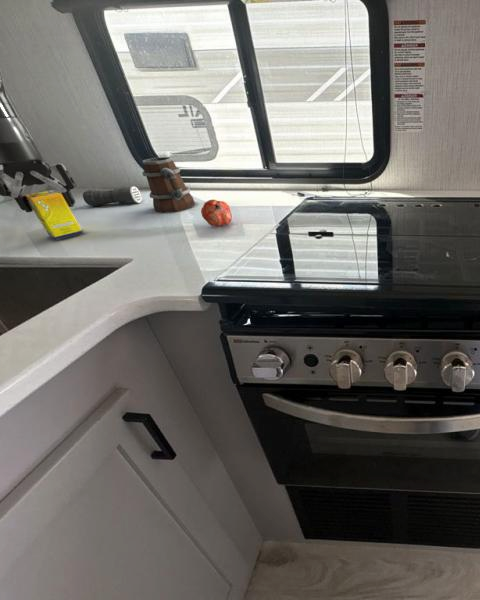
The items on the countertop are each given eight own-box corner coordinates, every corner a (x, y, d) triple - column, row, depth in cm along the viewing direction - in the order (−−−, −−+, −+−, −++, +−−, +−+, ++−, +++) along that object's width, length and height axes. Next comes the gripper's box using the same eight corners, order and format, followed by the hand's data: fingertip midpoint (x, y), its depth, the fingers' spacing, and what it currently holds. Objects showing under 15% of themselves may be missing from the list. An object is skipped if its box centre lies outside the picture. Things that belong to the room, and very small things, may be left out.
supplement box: (48, 236, 89) (23, 194, 83) (76, 229, 93) (53, 189, 87) (55, 240, 86) (29, 198, 80) (84, 233, 90) (61, 192, 84)
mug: (150, 208, 110) (129, 160, 102) (188, 200, 117) (172, 154, 109) (166, 217, 101) (144, 165, 93) (206, 208, 108) (190, 159, 100)
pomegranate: (205, 233, 95) (202, 220, 86) (200, 209, 95) (196, 193, 86) (234, 231, 98) (233, 218, 89) (228, 207, 99) (228, 192, 90)
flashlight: (86, 208, 111) (77, 192, 108) (95, 204, 116) (87, 188, 113) (136, 204, 114) (129, 188, 111) (143, 200, 118) (136, 184, 115)
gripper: (54, 136, 82) (88, 201, 91) (-25, 140, 77) (20, 209, 85) (45, 139, 77) (82, 208, 85) (-42, 143, 71) (8, 217, 80)
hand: (51, 208), depth 85 cm, fingers open, 8 cm apart
